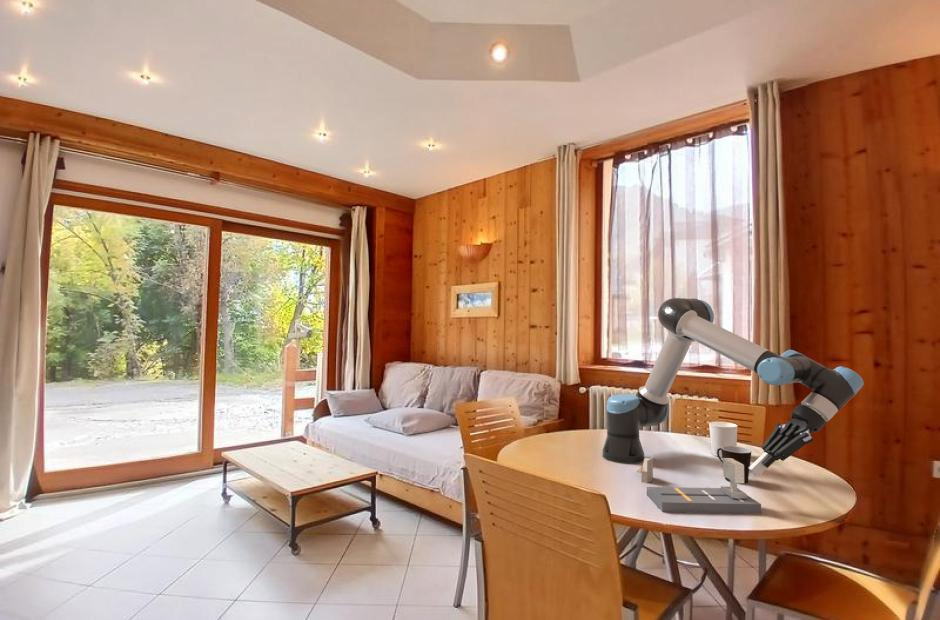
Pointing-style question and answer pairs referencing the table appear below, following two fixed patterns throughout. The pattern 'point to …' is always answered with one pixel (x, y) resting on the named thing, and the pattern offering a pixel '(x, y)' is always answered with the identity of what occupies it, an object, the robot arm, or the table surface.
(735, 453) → the coffee mug
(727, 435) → the candle holder
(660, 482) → the table surface
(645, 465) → the architectural model
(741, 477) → the fader
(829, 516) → the table surface
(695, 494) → the console
